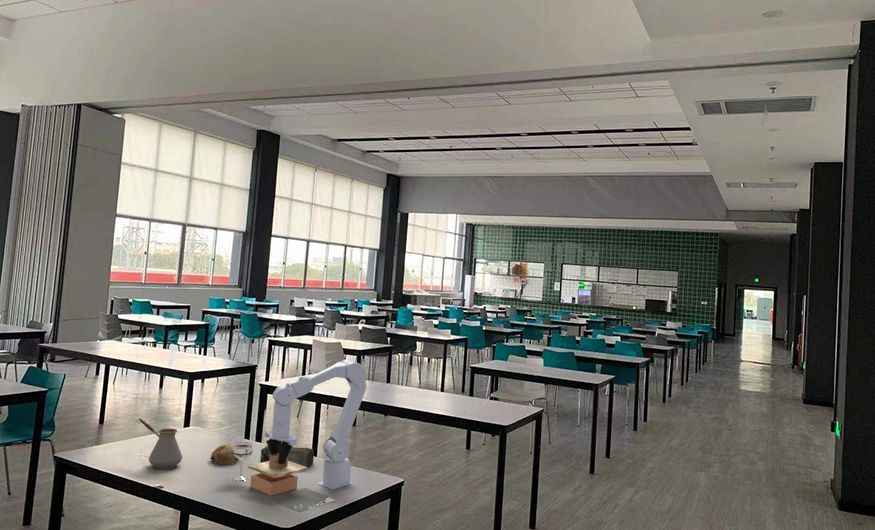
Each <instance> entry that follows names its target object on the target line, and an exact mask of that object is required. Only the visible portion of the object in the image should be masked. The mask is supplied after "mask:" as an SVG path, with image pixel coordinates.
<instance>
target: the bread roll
mask: <svg viewBox="0 0 875 530" xmlns="http://www.w3.org/2000/svg"><path fill="white" fill-rule="evenodd" d="M233 448H234V445H233V444H231V445H230V444H223V445H220V446H218V447H216V448H215V449H214V450H213V451H212V453H211V455H210V460H211V461H212V462H213V463H214V462H215V463H214V464H217V463H218V464H217V465H233V464H237V463H238V461H240V459H237V458H236V457H235V456H234V455H233ZM232 463H233V464H232Z"/></svg>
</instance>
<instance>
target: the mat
mask: <svg viewBox="0 0 875 530" xmlns="http://www.w3.org/2000/svg"><path fill="white" fill-rule="evenodd" d="M328 497H329V496H328V495H326V494H322V493H320V492H319V491H318V492H317V491H314V490H312V489H310V488H307V487H304V488H299V489H296V490H291V491H289V492H288V491H287V492H284V493H280V494H277V495H275V496H274V495H273V496H271V497H268V498H267V500H270V501H271V502H274V503H276V504H279V505H282V506H283V507H285V508H287V509H288V508H289V509H291V510H293V511H296V512H298V513H302V512H304V511H309V510H310V509H309V508H310V507H309V506H311V507H313V506H315V505H316V504H319V503H320V502H321V501H322V502H321V503H324V504H325V503H326V502H325V500H326V498H328ZM321 503H320V504H321ZM300 504H301V505H302V506H303V507H302V506H301V505H300ZM313 504H314V505H313ZM320 504H319V505H320ZM294 505H295V506H296V507H297V508H296V507H295V506H294ZM325 505H326V504H325ZM299 506H300V507H299ZM294 507H295V508H296V509H295V508H294ZM301 507H302V508H301ZM308 507H309V508H308ZM292 508H293V509H292ZM300 508H301V509H300ZM315 508H318V507H317V506H316V507H315Z"/></svg>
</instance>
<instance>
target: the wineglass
mask: <svg viewBox="0 0 875 530" xmlns="http://www.w3.org/2000/svg"><path fill="white" fill-rule="evenodd" d="M232 445H233V446H234V448H233V455H234V456H235V457H236V458H237V459H239V462H240V469H239V470H240V472H239V473H240V474H239V476H235V477H233V478H232V480H233V479H234V480H233V481H236V480H237V482H240V481H239V480H244V481H246V480H245V479H246V477H247V476H242V473H243V464H244V461H245V460H246V459H249V457H251V456H252V453H253V445H254V444H253V443H251V442H247V441H241V442H235V443H233V444H232Z"/></svg>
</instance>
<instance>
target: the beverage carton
mask: <svg viewBox="0 0 875 530" xmlns="http://www.w3.org/2000/svg"><path fill="white" fill-rule="evenodd" d="M314 456H315V449H314V448H309V447H295V446H293V447H292V448H291V450H290V452H289V454H288V461H290V462H293V463H296V464H299V465H302V466H305V467H308V469H309V468H310V467H311V466H312V465H313V464H314V458H315V457H314ZM259 458H260V459H259V463H262V462H267V461H269V460H270V450H269V447H268V445H266V446H264V447H263V448H261V450H260V457H259Z"/></svg>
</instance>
